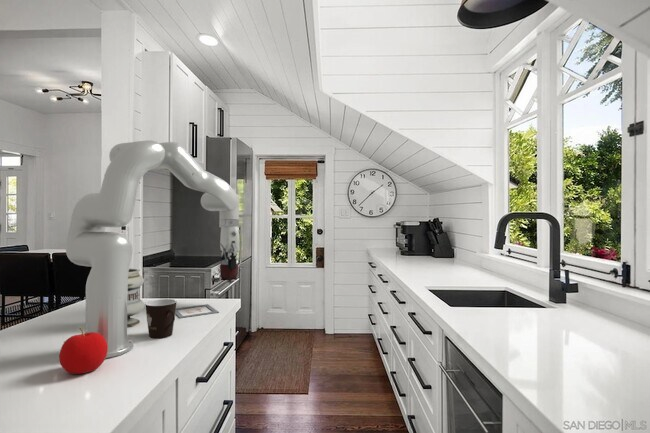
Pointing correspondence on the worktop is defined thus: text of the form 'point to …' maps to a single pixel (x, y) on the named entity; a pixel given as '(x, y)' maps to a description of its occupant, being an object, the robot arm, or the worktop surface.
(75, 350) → the fruit
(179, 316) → the gray square frame
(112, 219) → the robot arm
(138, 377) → the worktop surface
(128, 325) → the apothecary jar
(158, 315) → the coffee mug
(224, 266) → the mate gourd
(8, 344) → the worktop surface
